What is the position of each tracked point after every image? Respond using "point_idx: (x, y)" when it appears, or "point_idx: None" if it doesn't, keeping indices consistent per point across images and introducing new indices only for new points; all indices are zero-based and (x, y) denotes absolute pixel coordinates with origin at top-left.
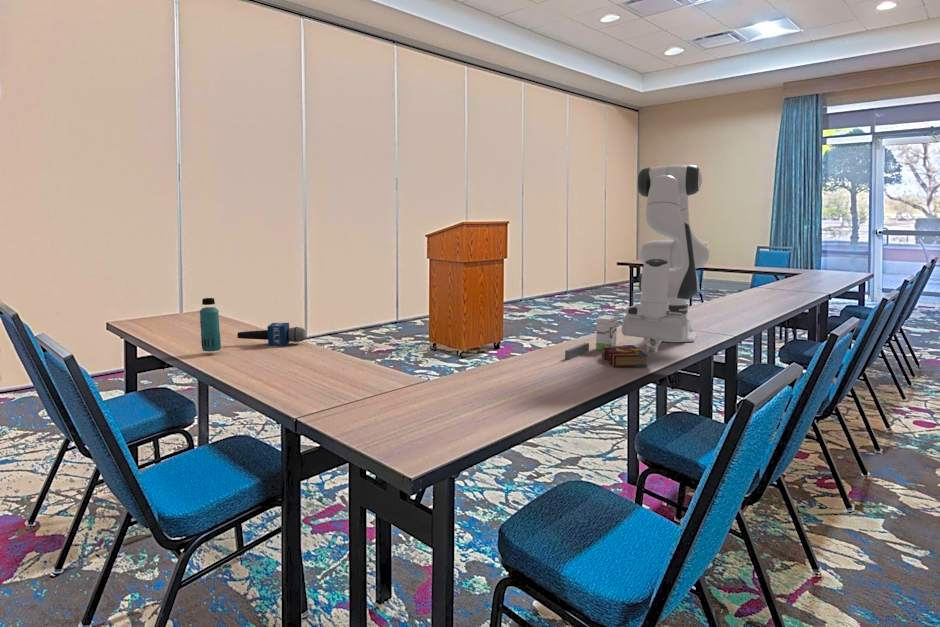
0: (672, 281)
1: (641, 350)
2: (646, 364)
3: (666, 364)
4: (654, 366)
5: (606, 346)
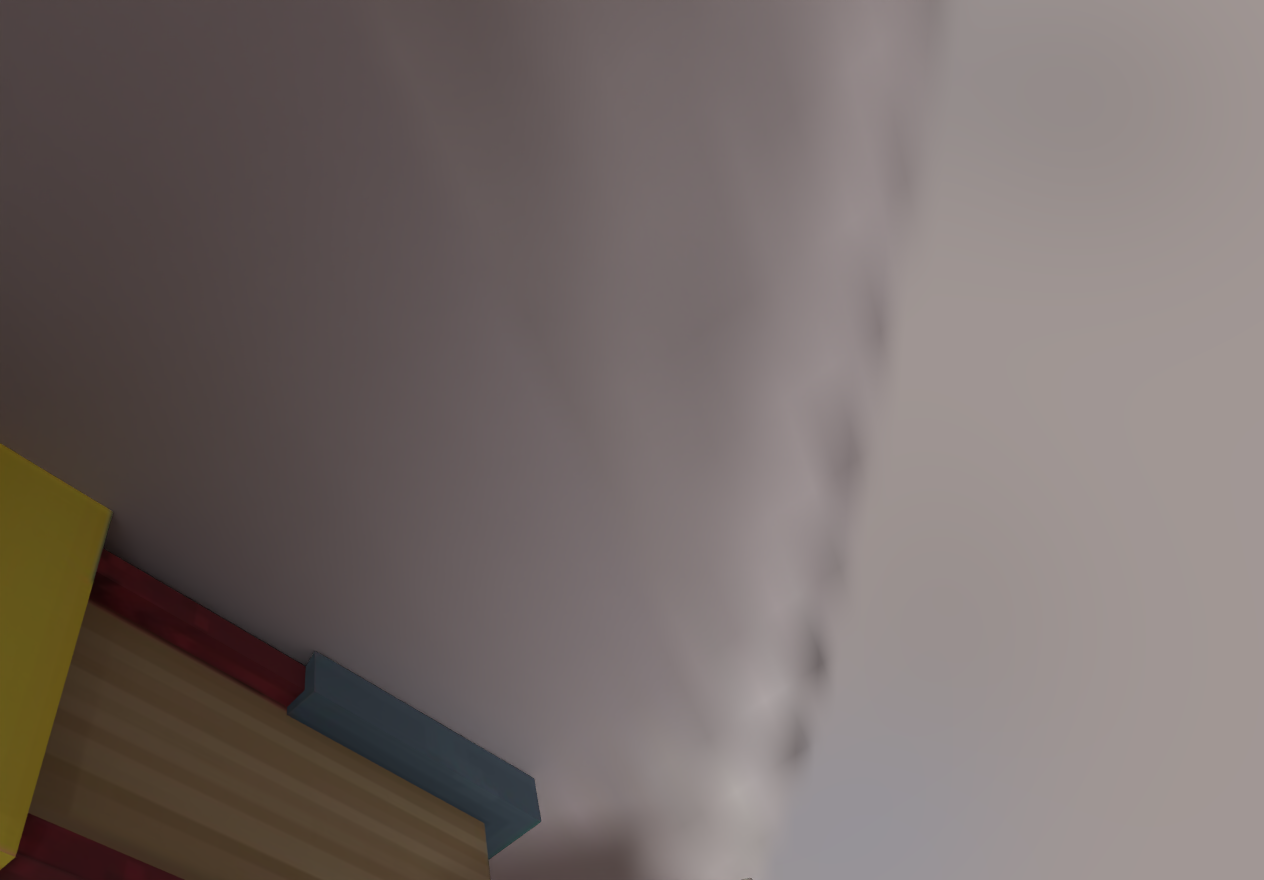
0: None
1: (17, 839)
2: (488, 798)
3: (834, 245)
4: (628, 624)
5: None
